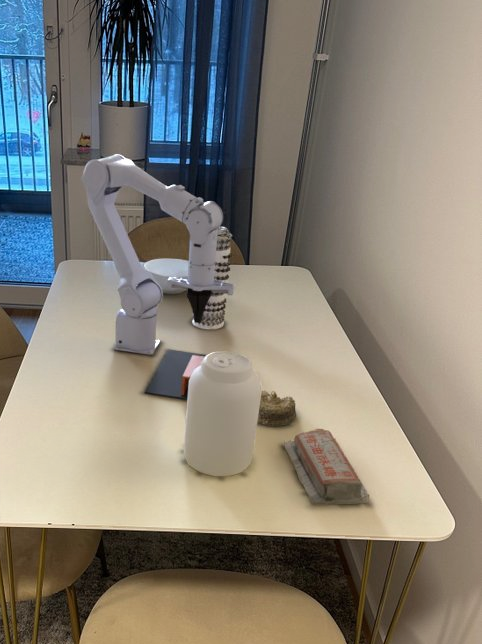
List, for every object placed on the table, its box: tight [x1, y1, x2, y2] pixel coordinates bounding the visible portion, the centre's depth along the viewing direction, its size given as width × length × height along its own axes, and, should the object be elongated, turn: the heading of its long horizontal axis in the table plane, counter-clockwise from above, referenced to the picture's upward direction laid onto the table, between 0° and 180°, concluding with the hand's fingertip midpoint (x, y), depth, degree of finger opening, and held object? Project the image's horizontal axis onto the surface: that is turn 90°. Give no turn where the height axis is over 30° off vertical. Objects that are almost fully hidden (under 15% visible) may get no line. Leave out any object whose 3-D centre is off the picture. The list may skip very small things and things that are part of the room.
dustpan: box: [181, 355, 204, 395], centre depth 142 cm, size 4×17×9 cm
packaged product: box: [283, 428, 370, 506], centre depth 114 cm, size 18×5×10 cm
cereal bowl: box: [143, 257, 189, 295], centre depth 190 cm, size 17×17×7 cm
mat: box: [144, 349, 207, 401], centre depth 145 cm, size 18×22×1 cm
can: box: [183, 350, 263, 477], centre depth 113 cm, size 12×12×20 cm
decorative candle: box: [191, 225, 233, 330], centre depth 165 cm, size 9×9×25 cm
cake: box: [257, 390, 298, 427], centre depth 131 cm, size 10×10×5 cm
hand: (198, 321), depth 146 cm, fingers closed
